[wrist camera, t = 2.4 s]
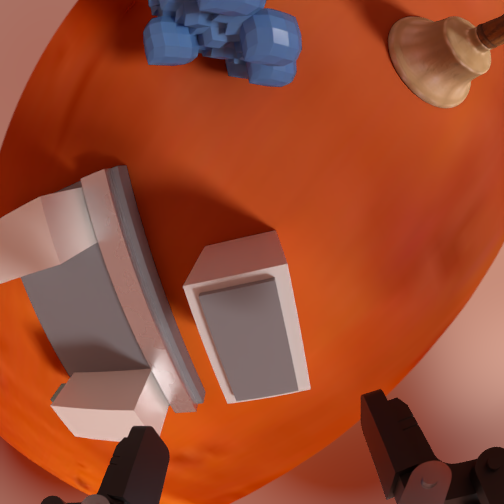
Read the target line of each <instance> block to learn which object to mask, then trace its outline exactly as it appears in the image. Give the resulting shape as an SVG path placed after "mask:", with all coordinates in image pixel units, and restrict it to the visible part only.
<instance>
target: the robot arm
mask: <svg viewBox="0 0 504 504" xmlns="http://www.w3.org/2000/svg"><path fill="white" fill-rule="evenodd" d="M361 426H362V430H363V434H364V436H365V439H366V442H367V445H368V447H369V450H370V453H371V456H372V459H373V462H374V464H375V467H376V470H377V473H378V476H379V479H380V482H381V485H382V488H383V491H384V494H385V497H386V499H390V498H393V497H395V500H396V503H397V504H504V448H501V447H492V448H489V449H487V450H485V451H484V452H483V453H482V454H481V455H480V456H479V457H478V459H475V460H471V461H466V462H462V463H457V464H448V463H444V462H442V461H440V460H439V459H437V457H436V456H435V455H434V453H433V451H432V449H431V447H430V445H429V444H428V442H427V440H426V438H425V436H424V434H423V432H422V430H421V429H420V427H419V426H418V423H417V421H416V420H415V418H414V417H413V414H412V412H411V411H410V409H409V407H408V405H407V404H405V403H404V402H402V401H401V400H400V399H398V398H394V399H392V400H389V401H388V400H387V399H386V397H385V395H384V393H383V391H382V390H381V389H379V390H376V391H373V392H370V393H366V394H363V395H361ZM168 463H169V450H168V448H167V446H166V445H165V443H164V442H163V441H162V439H161V438H160V437H159V435H158V434H157V432H156V431H155V429H154V428H153V427H152V426H133V427H132V428H131V430H130V432H129V435H128V437H124V438H123V439H122V440H121V441H120V442H119V444H118V445H117V446H116V448H115V451H114V453H113V457H112V458H111V461H110V465H109V466H108V468H107V471H106V473H105V476H104V478H103V481H102V483H101V486H100V488H99V491H98V493H97V494H94V495H90V496H88V497H86V498H85V499H84V500H83V501H82V502H81V503H65V502H64V501H63V500H62V499H60V498H59V497H57V496H49V497H47V498H45V499H44V500H43V501H42V503H41V504H159V501H160V497H161V493H162V488H163V484H164V480H165V476H166V472H167V467H168Z"/></svg>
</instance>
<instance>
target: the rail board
mask: <svg viewBox="0 0 504 504" xmlns="http://www.w3.org/2000/svg"><path fill="white" fill-rule="evenodd" d="M80 180H81V181H79V182H77V183H74V184H72V185H70V186H68V187H66V188H63V189H61V190H59V191H57V192H55V193H53V194H48V195H44V196H40V197H38V198H36V199H34V200H32V201H30V202H28V203H26V204H25V205H23V206H21V207H19V208H17V209H15V210H14V211H12V212H10V213H8V214H7V215H5V216H3V217H1V218H0V284H1V283H4V282H7V281H10V280H13V279H16V278H19V277H21V279H22V282H23V284H24V287H25V289H26V292H27V294H28V296H29V299H30V301H31V303H32V306H33V308H34V310H35V312H36V315H37V317H38V319H39V321H40V323H41V325H42V327H43V329H44V331H45V333H46V335H47V337H48V339H49V341H50V343H51V345H52V347H53V349H54V350H55V352H56V354H57V356H58V358H59V359H60V361H61V363H62V364H63V366H64V368H65V370H66V371H67V373H68V375H69V376H70V379H69V380H68V382H67V383H66V384H61V385H60V387H59V388H58V390H57V391H56V392H55V394H54V395H53V397H52V398H51V401H52V402H53V403H52V404H51V407H52V408H53V409H54V411H55V412H56V413H57V415H58V416H59V417H60V419H61V420H62V421H63V422H64V424H65V425H66V426H67V427H68V429H69V430H70V431H71V432H72V433H73V435H74V436H77V437H83V438H91V439H99V440H108V441H118V442H120V441H121V440H122V439H123V438H124V437H128V435H129V432H130V430H131V428H132V427H133V426H152V427H153V428H154V429H155V431H156V432H157V434H158V435H159V437H160V433H161V430H162V427H163V423H164V420H165V417H166V413H167V410H168V407H169V406H170V405H171V407H172V409H173V410H174V412H175V413H181V412H196V411H197V406H198V404H199V403H203V402H204V397H205V390H204V388H203V385H202V383H201V381H200V379H199V377H198V374H197V372H196V370H195V368H194V365H193V363H192V361H191V358H190V356H189V354H188V351H187V349H186V346H185V344H184V342H183V339H182V337H181V334H180V332H179V329H178V327H177V324H176V322H175V319H174V316H173V314H172V311H171V309H170V306H169V303H168V300H167V298H166V295H165V292H164V289H163V287H162V284H161V281H160V278H159V275H158V272H157V269H156V266H155V263H154V260H153V257H152V254H151V251H150V248H149V245H148V242H147V238H146V235H145V232H144V229H143V225H142V222H141V218H140V215H139V211H138V208H137V204H136V201H135V197H134V193H133V190H132V186H131V182H130V178H129V174H128V170H127V166H126V165H124V166H116V167H113V168H108V169H103V170H100V171H98V172H95V173H93V174H90V175H88V176H86V177H83V178H81V179H80Z"/></svg>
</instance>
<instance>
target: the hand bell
mask: <svg viewBox="0 0 504 504" xmlns="http://www.w3.org/2000/svg"><path fill="white" fill-rule="evenodd" d="M502 44H504V14H503V15H502V16H500V17H498V18H496V19H493V20H490V21H488V22H486V23H484V24H479V25H478V26H477V27H475V26H474V25H472V24H471V23H470V22H468V21H467V20H465V19H463V18H460V17H455V16H453V17H448V18H446V19H443V20H440V21H436V22H433V21H431V20H429V19H426V18H422V17H413V16H411V17H405V18H402V19H400V20H398V21H397V22H396V23H395V24H394V25H393V26H392V28H391V30H390V32H389V36H388V48H389V53H390V57H391V60H392V62H393V65H394V67H395V70H396V71H397V73H398V74H399V76H400V78H401V79H402V80H403V82H404V83H405V84H406V85H407V87H408V88H409V89H410V90H411V91H412V92H413V93H414V94H415V95H417V96H418V97H419V98H421V99H422V100H423V101H425V102H427V103H429V104H431V105H433V106H436V107H440V108H452V107H455V106H458V105H459V104H460V103H461V102H462V101H463V100H464V99H465V98H466V96H467V95H468V92H469V90H470V85H471V80H473V79H474V78H476V77H478V76H480V75H482V74H484V73H486V72H487V71H488V70H489V67H490V64H491V54H490V50H491V49H494V48H496V47H497V46H500V45H502Z"/></svg>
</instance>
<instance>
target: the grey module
mask: <svg viewBox="0 0 504 504" xmlns="http://www.w3.org/2000/svg"><path fill="white" fill-rule="evenodd" d="M183 288H184V291H185V294H186V297H187V300H188V303H189V306H190V309H191V311H192V314H193V317H194V320H195V323H196V325H197V328H198V331H199V333H200V336H201V339H202V341H203V344H204V347H205V349H206V352H207V354H208V357H209V359H210V362H211V365H212V367H213V370H214V372H215V374H216V377H217V379H218V382H219V384H220V387H221V389H222V391H223V394H224V396H225V398H226V401H227V403H236V402H243V401H250V400H257V399H263V398H269V397H275V396H280V395H285V394H290V393H295V392H300V391H305V390H309V389H311V388H310V382H309V376H308V370H307V364H306V359H305V353H304V347H303V342H302V336H301V331H300V326H299V320H298V315H297V310H296V304H295V299H294V294H293V289H292V284H291V279H290V274H289V269H288V264H287V261H286V258H285V255H284V252H283V249H282V247H281V244H280V241H279V238H278V235H277V232H276V230H274V231H269V232H265V233H261V234H256V235H252V236H247V237H243V238H238V239H234V240H230V241H225V242H221V243H217V244H212V245H208V246H205V247H204V249H203V250H202V252H201V254H200V256H199V258H198V259H197V261H196V263H195V265H194V267H193V268H192V270H191V272H190V274H189V276H188V277H187V279H186V281H185V283H184V285H183Z"/></svg>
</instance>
